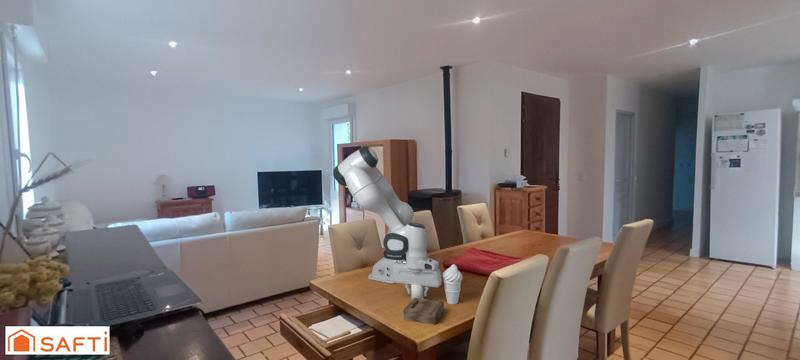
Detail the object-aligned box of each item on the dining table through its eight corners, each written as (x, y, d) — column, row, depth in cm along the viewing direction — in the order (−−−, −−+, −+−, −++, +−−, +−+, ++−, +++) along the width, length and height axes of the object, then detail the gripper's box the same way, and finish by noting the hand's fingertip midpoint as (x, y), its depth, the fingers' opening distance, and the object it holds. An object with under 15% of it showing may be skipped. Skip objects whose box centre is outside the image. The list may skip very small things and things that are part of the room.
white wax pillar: (409, 302, 151) (409, 282, 151) (413, 298, 156) (413, 279, 155) (421, 304, 149) (420, 284, 149) (425, 299, 154) (424, 280, 154)
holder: (403, 319, 136) (403, 309, 135) (414, 307, 147) (414, 297, 146) (435, 324, 131) (434, 313, 131) (443, 311, 142) (443, 301, 142)
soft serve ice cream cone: (449, 308, 146) (448, 268, 145) (438, 300, 153) (438, 263, 152) (466, 304, 149) (466, 265, 148) (455, 297, 157) (455, 260, 156)
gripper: (390, 262, 153) (391, 294, 153) (438, 266, 145) (438, 300, 146) (396, 258, 159) (397, 289, 159) (442, 262, 151) (442, 295, 152)
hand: (417, 294), depth 153 cm, fingers closed on white wax pillar, 5 cm apart
